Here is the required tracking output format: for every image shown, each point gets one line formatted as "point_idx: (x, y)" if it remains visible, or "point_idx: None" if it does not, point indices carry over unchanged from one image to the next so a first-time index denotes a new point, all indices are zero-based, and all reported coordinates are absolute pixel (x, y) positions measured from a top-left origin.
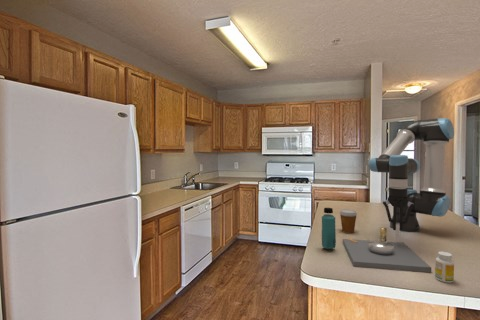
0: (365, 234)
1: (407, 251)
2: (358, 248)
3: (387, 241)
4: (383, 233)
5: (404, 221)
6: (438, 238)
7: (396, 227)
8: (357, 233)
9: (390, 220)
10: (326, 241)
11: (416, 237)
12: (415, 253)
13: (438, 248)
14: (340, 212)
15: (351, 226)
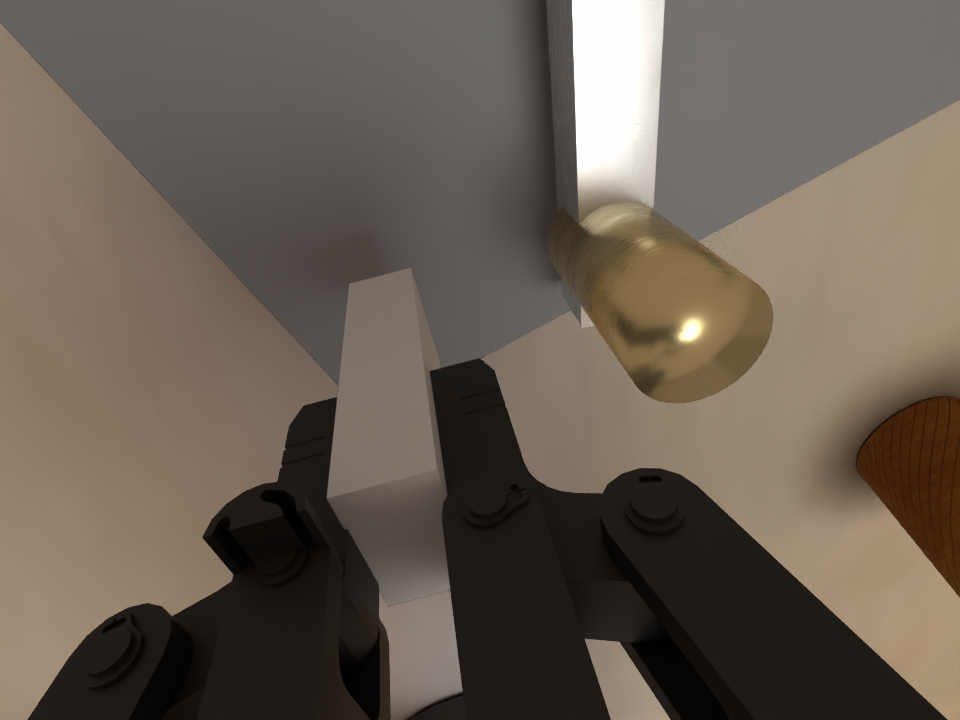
0: (754, 467)
1: (158, 42)
2: None
3: (537, 325)
4: (644, 240)
5: (141, 675)
6: None
7: (414, 401)
8: (827, 446)
9: (650, 514)
10: None
11: None
12: (6, 22)
13: (92, 548)
14: None
15: (957, 466)
